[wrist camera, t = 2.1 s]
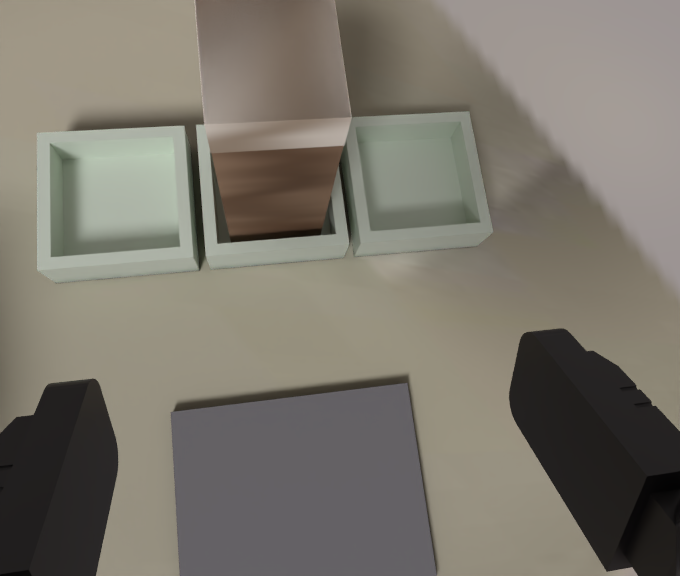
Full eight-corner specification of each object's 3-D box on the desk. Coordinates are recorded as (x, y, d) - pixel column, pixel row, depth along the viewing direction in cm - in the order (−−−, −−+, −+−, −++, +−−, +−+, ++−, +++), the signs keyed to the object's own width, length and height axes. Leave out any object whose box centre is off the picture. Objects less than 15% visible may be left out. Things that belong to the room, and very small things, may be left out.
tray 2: (210, 269, 25) (205, 256, 23) (201, 147, 26) (195, 124, 24) (343, 258, 26) (349, 244, 24) (327, 140, 27) (332, 118, 25)
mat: (184, 624, 21) (182, 628, 21) (172, 412, 23) (170, 412, 23) (435, 579, 23) (437, 582, 22) (405, 383, 24) (407, 382, 24)
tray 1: (56, 283, 24) (37, 270, 22) (54, 155, 25) (37, 132, 23) (199, 270, 25) (193, 257, 23) (190, 147, 26) (184, 125, 24)
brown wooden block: (230, 243, 25) (204, 124, 15) (223, 160, 25) (194, -3, 16) (320, 236, 25) (351, 117, 15) (310, 154, 26) (333, -5, 16)
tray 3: (354, 257, 26) (360, 243, 24) (337, 139, 27) (343, 117, 25) (476, 246, 26) (493, 232, 25) (455, 133, 28) (469, 111, 26)
